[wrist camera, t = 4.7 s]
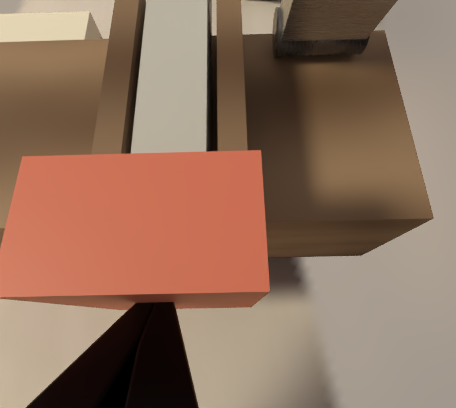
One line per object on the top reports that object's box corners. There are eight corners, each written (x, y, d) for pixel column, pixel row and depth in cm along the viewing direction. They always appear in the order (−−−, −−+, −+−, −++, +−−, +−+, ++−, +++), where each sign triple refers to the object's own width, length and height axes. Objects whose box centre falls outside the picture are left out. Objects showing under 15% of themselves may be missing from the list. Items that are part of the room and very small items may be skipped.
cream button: (120, 120, 18) (81, 52, 14) (47, 122, 18) (-17, 54, 14) (124, 86, 19) (89, 11, 15) (54, 88, 19) (-4, 14, 15)
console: (361, 255, 15) (485, 191, 8) (1, 263, 16) (-222, 208, 8) (338, 119, 18) (413, -26, 11) (33, 127, 18) (-110, -10, 11)
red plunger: (251, 307, 10) (269, 291, 5) (120, 309, 10) (-12, 297, 5) (239, 22, 15) (241, -157, 9) (147, 25, 15) (96, -151, 9)
